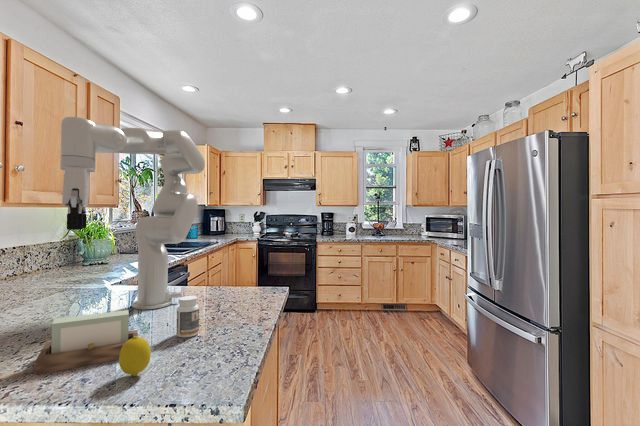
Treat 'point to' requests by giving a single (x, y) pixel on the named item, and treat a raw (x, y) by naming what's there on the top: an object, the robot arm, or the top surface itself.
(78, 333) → the frame
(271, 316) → the top surface
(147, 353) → the lemon
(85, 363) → the wooden tray
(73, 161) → the robot arm
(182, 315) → the pill bottle
